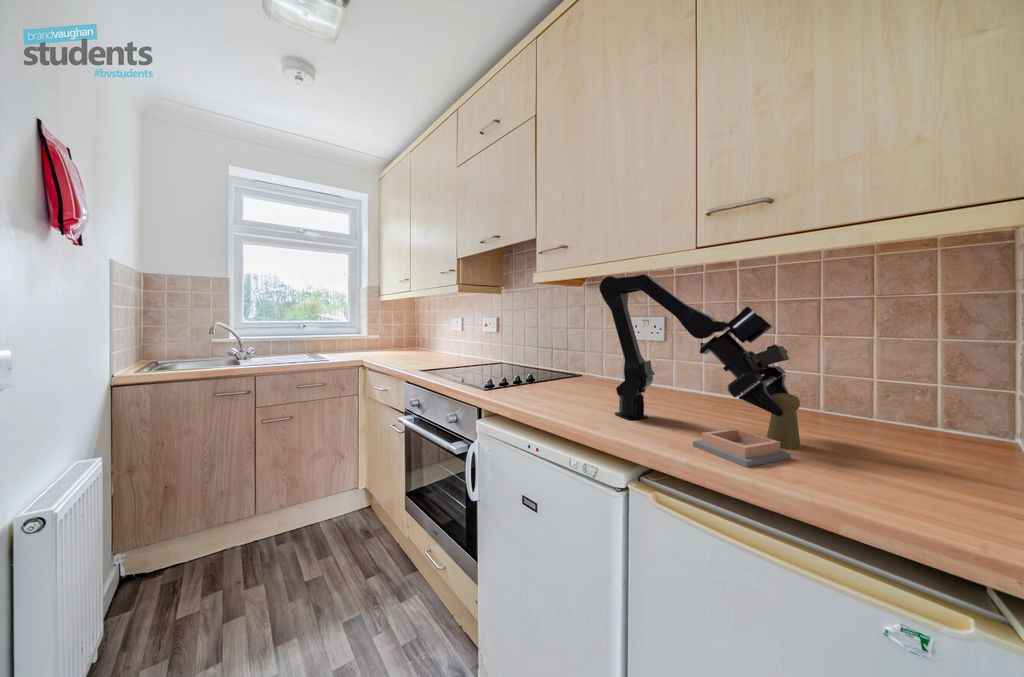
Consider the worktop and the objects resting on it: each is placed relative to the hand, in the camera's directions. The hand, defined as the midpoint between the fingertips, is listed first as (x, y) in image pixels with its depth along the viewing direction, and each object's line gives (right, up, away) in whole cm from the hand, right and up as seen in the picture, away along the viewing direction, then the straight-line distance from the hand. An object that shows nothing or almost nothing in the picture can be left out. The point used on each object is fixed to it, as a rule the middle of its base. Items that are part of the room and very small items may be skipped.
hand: (788, 411), depth 78 cm
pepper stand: (-13, -7, -4) cm, 15 cm away
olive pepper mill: (-1, -7, +1) cm, 8 cm away
